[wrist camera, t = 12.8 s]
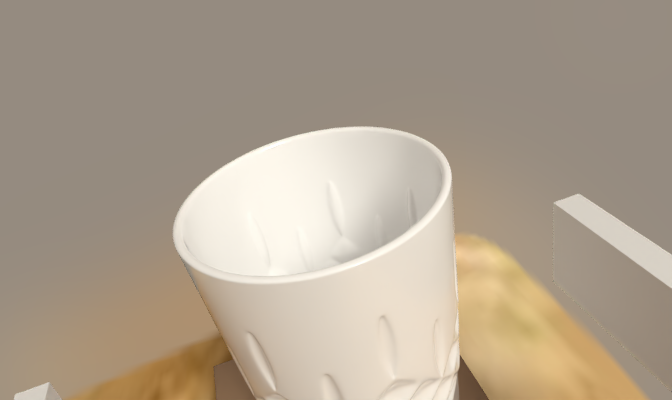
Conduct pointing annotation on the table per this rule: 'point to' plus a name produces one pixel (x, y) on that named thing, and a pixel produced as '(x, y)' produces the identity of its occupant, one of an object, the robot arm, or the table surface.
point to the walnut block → (237, 396)
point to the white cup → (331, 266)
